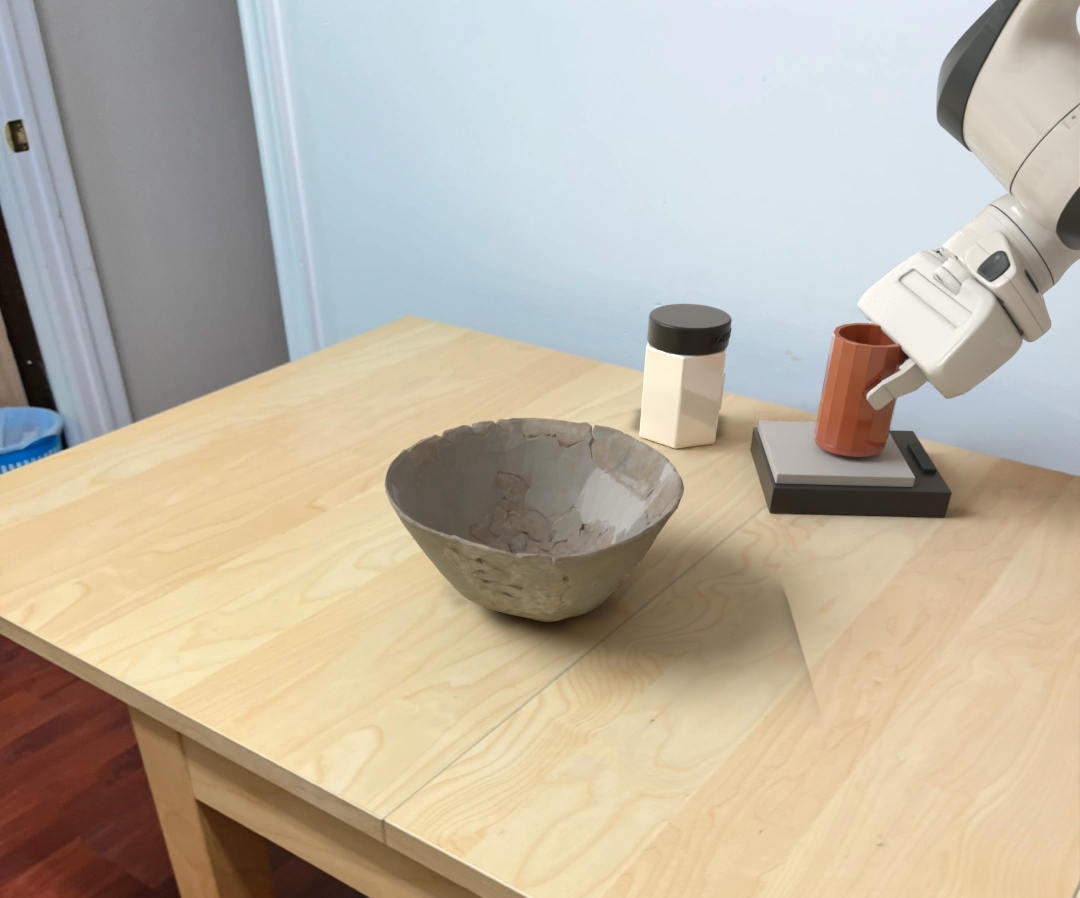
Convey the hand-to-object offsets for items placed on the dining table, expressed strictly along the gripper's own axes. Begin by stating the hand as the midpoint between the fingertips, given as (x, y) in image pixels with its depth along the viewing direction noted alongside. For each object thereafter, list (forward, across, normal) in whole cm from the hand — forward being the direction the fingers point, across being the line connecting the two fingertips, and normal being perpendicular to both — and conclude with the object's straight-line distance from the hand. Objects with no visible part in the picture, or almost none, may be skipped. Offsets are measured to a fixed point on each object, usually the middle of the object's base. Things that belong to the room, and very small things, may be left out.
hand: (854, 386), depth 94 cm
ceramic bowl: (+28, +19, -15) cm, 37 cm away
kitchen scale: (+6, 0, +7) cm, 10 cm away
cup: (+3, 0, +4) cm, 5 cm away
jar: (+16, -13, -2) cm, 21 cm away
